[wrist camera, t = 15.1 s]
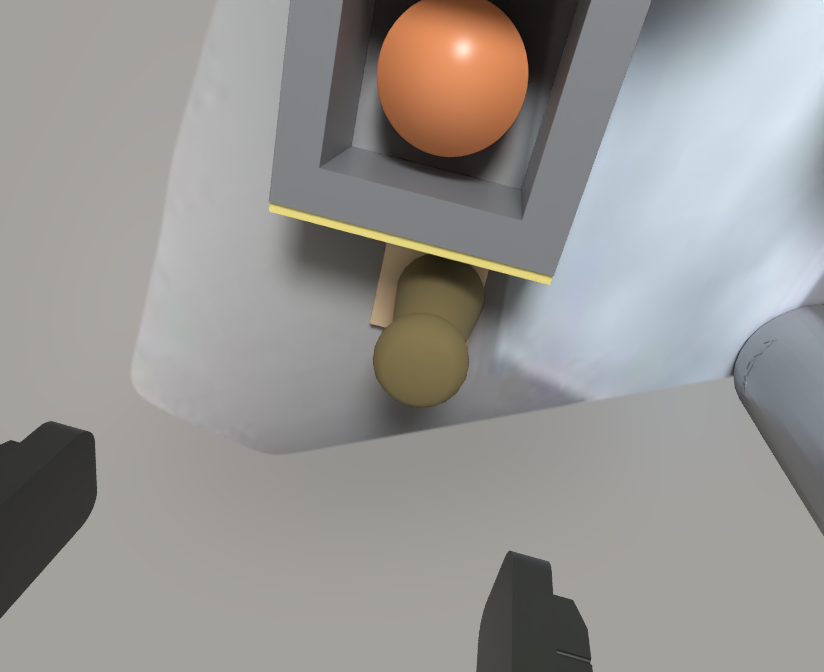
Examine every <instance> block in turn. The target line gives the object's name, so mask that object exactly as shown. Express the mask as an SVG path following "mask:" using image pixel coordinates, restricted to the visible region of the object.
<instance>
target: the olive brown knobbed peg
mask: <svg viewBox="0 0 824 672" xmlns="http://www.w3.org/2000/svg"><path fill="white" fill-rule="evenodd" d="M484 299H485V295H484V287H483V283H482V281H481V279H480V277H479V275H478V273H477V271H476V270H475V269H474V268H473V267H472V266H471V265H470V264H467V263H464V262H460V261H456V260H452V259H448V258H445V257H441V256H437V255H433V254H426V255H423V256H421V257H419V258H417V259H414V260H413V261H412V262H411V263H410V264H409V265H408V266H407V267H405V268H404V270H403V272H402V274H401V276H400V277H399V279H398V284H397V291H396V298H395V306H394V314H393V322H392V323H391V324H390V325H389V326H388V327H386V328H385V329H384V330H383V332H382V334H381V335H380V337H379V339H378V341H377V343H376V345H375V349H374V356H373V365H374V370H375V375H376V378H377V379H378V381H379V383H380V385H381V386H382V388H383V389H384V390H385V391H386V392H387V393H388V394H389V395H390V396H392V397H393V398H394V399H395V400H397V401H399V402H401V403H403V404H405V405H410V406H414V407H430V406H434V405H437V404H440V403H443V402H446V401H447V400H448V399H450V398H451V397H452V396H454V395H455V394H456V393H457V391H458V390H459V389H460V387H461V385H462V384H463V382H464V381H465V379H466V376H467V371H468V367H469V355H468V348H467V345H466V343H467V341H468V339H469V336H470V334H471V332H472V330H473V328H474V326H475V324H476V322H477V320H478V317H479V315H480V313H481V311H482V308H483V303H484Z"/></svg>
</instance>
